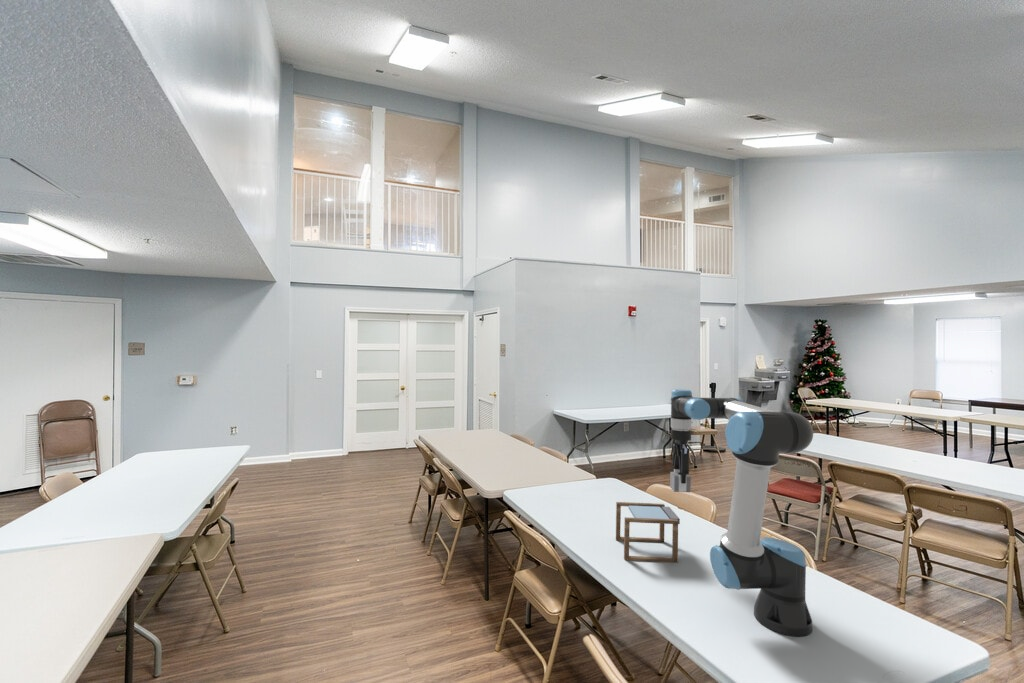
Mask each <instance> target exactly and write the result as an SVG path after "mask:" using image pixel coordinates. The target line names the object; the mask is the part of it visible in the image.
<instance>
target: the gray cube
mask: <svg viewBox="0 0 1024 683" xmlns="http://www.w3.org/2000/svg"><path fill="white" fill-rule="evenodd" d="M669 472H670V473H669V474H670V476H669V477H670V478H669V479H670V480H669V481H670V482H669V487H670V489H671V490H672V491H673V492H675V493H680V492H679V475H678V473H680V472H674V471H669ZM691 479H692V478H691V475H690V474H687V485H686V492H685V493H691V484H692V483H691V481H692V480H691Z"/></svg>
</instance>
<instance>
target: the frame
mask: <svg viewBox="0 0 1024 683" xmlns="http://www.w3.org/2000/svg"><path fill="white" fill-rule="evenodd" d="M629 505H630V506H657V507H660V508H661V509H662V507H666V505H665V504H664V503H652V502H651V503H650V502H629V501H628V502H625V501H616V504H615V510H616V512H615V540H616V541H618V542H619V541H623V544H624V545H623V559H624V561H635V562H636V561H637V562H655V563H656V562H658V563H659V562H660V563H678V561H679V560H678V559H679V524H678V520H675V519H651V518H634V517H624V526H623V527H624V530H623V531H624V532H623V533H624V534H623V535H624V536H621V523H622V522H621V519H622V518H621V517H622V516H621V515H622V514H621V513H622V512H621V511H622V507H629ZM630 523H636V524H637V523H639V524H640V523H641V524H659V534H658V535H659V536H658V537H659V538H658V537H636V536H633V537H632V536H630V525H631V524H630ZM665 524H667V525H668V524H669V525H672V538H671V539H672V547H671V548H672V549H671V550H672V551H671V554H672V555H671V556H672V557H667V556H665V557H664V556H663V557H661V556H641V555H640V556H639V555H637V556H636V555H630V542H640V543H641V542H643V543H644V542H645V543H665Z"/></svg>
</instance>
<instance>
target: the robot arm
mask: <svg viewBox="0 0 1024 683" xmlns="http://www.w3.org/2000/svg"><path fill="white" fill-rule="evenodd" d="M692 419H693V420H697V421H700V420H705V419H724V420H728V421H727V424H726V427H725V432H724V433H725V434H724V435H725V436H724V437H725V439H726V441H725V443H726V446H727V447H728V449H729V450H730V451H731V454H732V457H733V458H735V460H736V465H735V473H734V480H733V487H732V495H731V500H730V501H731V502H730V510H729V517H728V523H727V524H728V525H727V531H726V532H725V533H723V534H722V535H721V536H720V542H719V545H718V544H715V545H713V546H712V547H711V548H710V552H709V559H710V564H711V569H712V571H713V574H714V576H715V578H716V579H717V581H718V582H719V584H720V585H721V586H723V587H724V588H725V589H731V590H738V591H740V590H750V589H751V590H752V589H753V590H754V589H760V590H759V592H758V595H757V598H756V600H755V601H754V602H755V603H754V605H753V616H754V618H755V619H756V621H757V622H759V623H760V624H761V625H763V626H764V627H766V628H768V629H769V630H772V631H773V632H777V633H779V634H782V635H787V636H791V637H805V636H808V635H811V633H812V632H813V620H812V616H811V613H810V611H809V607H808V605H807V600H806V579H807V578H806V574H807V572H806V570H807V569H806V568H807V562H806V553H805V552H804V550H803V549H801V548H800V547H798V546H797V545H795V544H793V543H791V542H788V541H785V540H783V539H779V538H774V537H762V539H761V534H762V527H763V523H764V522H763V520H764V514H765V508H766V500H767V494H768V486H769V479H770V473H771V468H773V467H775V466H777V465H778V463H779V462H778V461H779V455H780V454H796V453H799V452H802V451H803V450H805V449H807V448H808V447H809V446H810V445H811V443H812V440H813V439H814V429H813V426H812V424H811V422H810V421H809V420H808V419H807V418H806V417H805V416H803V415H801V414H800V413H797V412H791V411H787V410H780V411H775V410H772V409H768V408H764V407H761V406H758V405H754V404H750V403H746V402H744V401H743V399H741V398H738V397H737V398H735V397H726V398H725V397H695V396H694V397H693V393H692V391H691V390H689V389H681V388H680V389H679V388H678V389H677V388H675V389H673V390H672V391H671V398H670V428H671V429H670V439H672V440H674V441H672V462H671V465H672V467H673V472H680V473H678V475H679V492H678V493H687V492H686V485H687V474H688V475H690V468H689V467H690V465H689V463H690V461H689V459H690V448H689V447H688V445H687V441H688V442H689V441H691V440H692V430H691V429H692V424H693V420H692Z"/></svg>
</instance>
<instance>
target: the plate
mask: <svg viewBox="0 0 1024 683" xmlns="http://www.w3.org/2000/svg"><path fill="white" fill-rule="evenodd" d="M628 510H629V513H631V515H632V518H651V519H675V520H678V525H681V524H680V523H681V522H680V520H681V519H680V517H679V516H678V515H677V514H676V513H675V512H674V511H673V509H672V508H671V506H665V507H662V509H661V508H660V507H657V506H630V505H629V506H628Z"/></svg>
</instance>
